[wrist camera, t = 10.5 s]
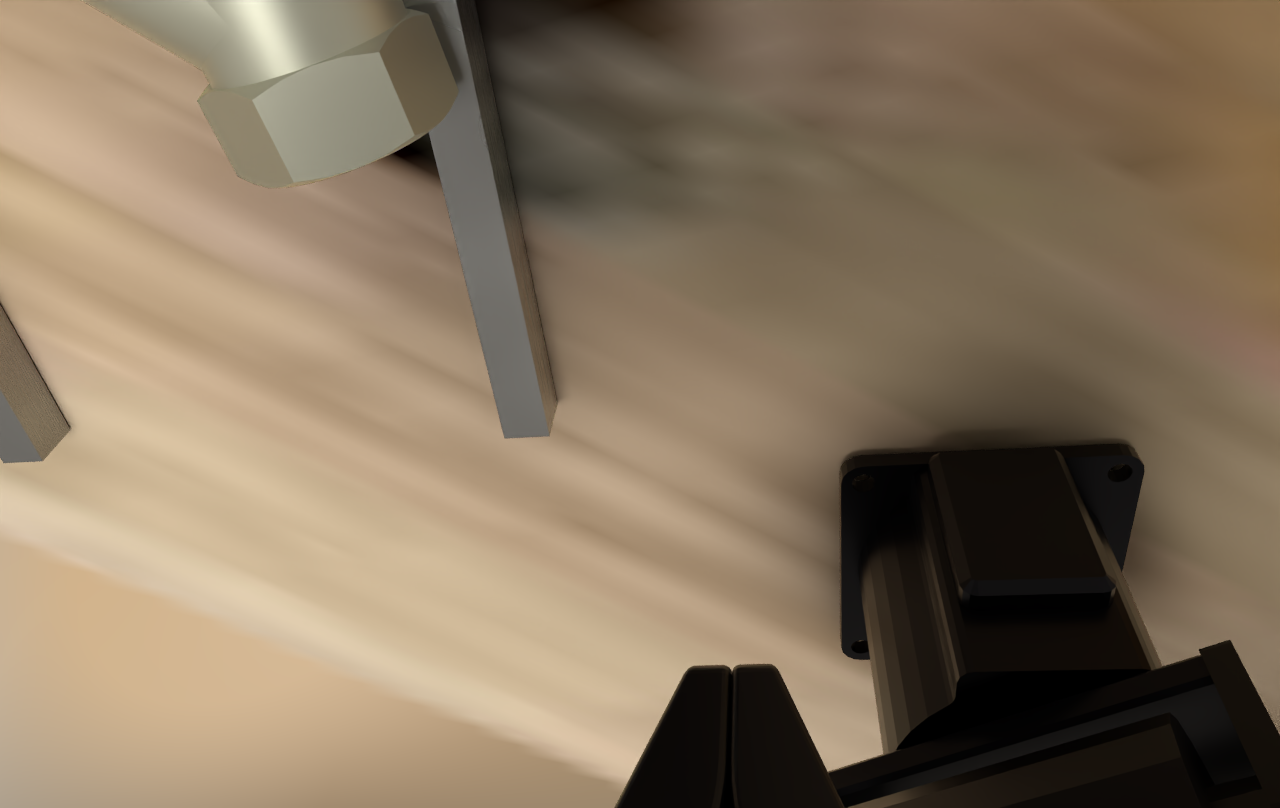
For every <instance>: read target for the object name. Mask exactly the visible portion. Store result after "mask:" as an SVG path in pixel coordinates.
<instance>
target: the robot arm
mask: <svg viewBox="0 0 1280 808" xmlns="http://www.w3.org/2000/svg"><path fill="white" fill-rule="evenodd" d="M1119 464H1125V465H1124V466H1123V467H1121V468H1120V469H1117V470H1113V471H1112V470H1110V469H1111V468H1112V467H1114V466H1115V465H1119ZM861 475H868V476H871V477H870V478H869V479H867V480H864V481H858V480H855V478H856V477H857V476H861ZM1143 476H1144V465H1143V463H1142V461H1141V459H1140V457H1139V455H1138V453H1137V452H1136V450H1135V449H1134V448H1132V447H1130V446H1128V445H1125V444H1102V445H1080V446H1057V447H1035V448H1013V449H991V450H968V451H946V452H924V453H901V454H879V455H861V456H856V457H852V458H850V459H849V460H847V461H846V462H845V463H844V464H843V465H842V466H841V469H840V473H839V483H840V638H841V647H842V651H843V653H844V654H845V655H846V656H848V657H850V658H853V659H859V660H870V662H871V669H872V676H873V683H874V690H875V697H876V704H877V712H878V719H879V726H880V733H881V740H882V747H883V755H880V756H877V757H873V758H870V759H867V760H864V761H861V762H857V763H854V764H851V765H848V766H845V767H842V768H838V769H835V770H832V771H829V772H827V770H826V768H825V766H824V764H823V761H822V759H821V757H820V755H819V753H818V751H817V749H816V747H815V745H814V743H813V741H812V739H811V737H810V735H809V733H808V730H807V728H806V726H805V724H804V722H803V720H802V718H801V716H800V714H799V712H798V710H797V708H796V706H795V704H794V701H793V699H792V697H791V695H790V693H789V691H788V689H787V687H786V685H785V683H784V681H783V679H782V677H781V675H780V673H779V671H778V669H777V668H776V667H775V666H774V665H772V664H744V665H737V666H736V667H734V669H733V671H731V669H730V668H729V667H728V666H725V665H705V666H692V667H690V668H689V669H688V670H687V671H686V672H685V673H684V675H683V677H682V679H681V681H680V683H679V685H678V686H677V688H676V690H675V692H674V694H673V696H672V698H671V700H670V702H669V704H668V706H667V708H666V710H665V711H664V713H663V715H662V717H661V719H660V721H659V723H658V725H657V727H656V729H655V731H654V733H653V735H652V736H651V738H650V740H649V742H648V744H647V746H646V748H645V750H644V752H643V754H642V756H641V758H640V759H639V761H638V763H637V765H636V767H635V769H634V771H633V773H632V775H631V777H630V779H629V781H628V783H627V784H626V786H625V788H624V790H623V792H622V794H621V796H620V798H619V800H618V802H617V804H616V806H615V808H1280V735H1279V733H1278V731H1277V729H1276V727H1275V725H1274V723H1273V721H1272V720H1271V718H1270V716H1269V714H1268V712H1267V710H1266V708H1265V706H1264V704H1263V702H1262V700H1261V698H1260V696H1259V695H1258V693H1257V691H1256V689H1255V687H1254V685H1253V683H1252V681H1251V679H1250V677H1249V675H1248V673H1247V671H1246V670H1245V668H1244V666H1243V664H1242V662H1241V660H1240V658H1239V656H1238V654H1237V652H1236V650H1235V648H1234V646H1233V645H1232V643H1231V641H1230V640H1227V641H1224V642H1221V643H1218V644H1215V645H1212V646H1208V647H1205V648H1202V649H1199V651H1200V654H1201V655H1198V656H1195V657H1192V658H1189V659H1186V660H1182V661H1179V662H1176V663H1173V664H1170V665H1166V666H1162V664H1161V662H1160V659H1159V657H1158V655H1157V652H1156V650H1155V648H1154V645H1153V643H1152V641H1151V639H1150V636H1149V634H1148V632H1147V629H1146V627H1145V625H1144V622H1143V620H1142V618H1141V616H1140V613H1139V611H1138V609H1137V606H1136V604H1135V602H1134V599H1133V597H1132V595H1131V593H1130V590H1129V588H1128V586H1127V583H1126V581H1125V579H1124V576H1123V574H1122V570H1123V565H1124V561H1125V556H1126V552H1127V547H1128V543H1129V538H1130V534H1131V529H1132V525H1133V520H1134V516H1135V511H1136V507H1137V502H1138V498H1139V493H1140V489H1141V485H1142V480H1143ZM859 640H864V641H860V642H859Z"/></svg>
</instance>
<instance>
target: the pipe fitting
mask: <svg viewBox="0 0 1280 808" xmlns="http://www.w3.org/2000/svg"><path fill="white" fill-rule="evenodd" d="M81 1H83V2H84V3H86V4H88V5H90V6H91V7H93V8H95V9H97V10H98V11H100V12H102V13H103V14H105V15H107V16H109V17H110V18H112V19H114V20H115V21H117V22H119V23H121V24H122V25H124V26H126V27H128V28H129V29H131V30H133V31H134V32H136V33H138V34H140V35H141V36H143V37H145V38H146V39H148V40H150V41H152V42H153V43H155V44H157V45H159V46H160V47H162V48H164V49H165V50H167V51H169V52H171V53H172V54H174V55H176V56H178V57H179V58H181V59H183V60H184V61H186V62H188V63H190V64H191V65H193V66H195V67H196V68H198V69H200V70H202V71H203V72H204V74H205V76H206V78H207V80H208V82H209V85H208V86H207V87H206V89H205V90H204V92H203V93H202V94H201V96H200V97H199V99H198V100H197V102H198V103H199V105H200V107H201V109H202V111H203V113H204V115H205V116H206V118H207V120H208V122H209V124H210V126H211V127H212V129H213V131H214V133H215V135H216V137H217V139H218V140H219V142H220V144H221V146H222V148H223V150H224V152H225V153H226V155H227V157H228V159H229V161H230V163H231V165H232V166H233V168H234V170H235V172H236V174H237V176H238V177H240V178H242V179H244V180H246V181H248V182H251V183H253V184H256V185H259V186H263V187H267V188H288V187H295V186H300V185H305V184H310V183H314V182H318V181H321V180H325V179H328V178H332V177H335V176H338V175H341V174H344V173H347V172H349V171H352V170H355V169H357V168H360V167H362V166H365V165H367V164H370V163H372V162H374V161H377V160H379V159H381V158H383V157H386V156H388V155H390V154H392V153H394V152H396V151H398V150H400V149H402V148H403V147H405V146H407V145H409V144H411V143H412V142H414V141H416V140H417V139H419V138H421V137H422V136H423V135H425V134H426V133H428V132H429V131H431V130H432V129H433V128H434V127H436V126H437V125H438V124H439V123H440V122H441V121H442V120H443V119H444V118H445V117H446V115H447V114H448V112H449V111H450V109H451V107H452V105H453V103H454V101H455V99H456V97H457V95H458V92H459V90H458V88H457V85H456V83H455V80H454V77H453V75H452V72H451V70H450V67H449V65H448V62H447V60H446V57H445V55H444V52H443V49H442V47H441V44H440V42H439V39H438V37H437V34H436V32H435V29H434V26H433V24H432V21H431V19H430V16H429V14H427V13H424V12H420V11H417V10H412V9H406V8H405V6H404V3H403V1H402V0H81Z"/></svg>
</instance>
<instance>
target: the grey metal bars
mask: <svg viewBox="0 0 1280 808" xmlns="http://www.w3.org/2000/svg"><path fill="white" fill-rule="evenodd" d="M402 1H403V3H404V6H405V8H406V9H412V10H417V11H420V12H424V13H427V14H429V16H430V19H431V21H432V24H433V26H434V29H435V32H436V34H437V37H438V39H439V42H440V44H441V47H442V49H443V52H444V55H445V57H446V60H447V62H448V65H449V67H450V70H451V72H452V75H453V77H454V80H455V83H456V85H457V88H458V90H459V92H458V95H457V97H456V99H455V101H454V103H453V105H452V107H451V109H450V111H449V112H448V114H447V115H446V117H445V118H444V119H443V120H442V121H441V122H440V123H439V124H438V125H437V126H436V127H434V128H433V129H432V130H431V131H429V136H430V140H431V144H432V148H433V152H434V156H435V160H436V164H437V168H438V172H439V176H440V180H441V184H442V188H443V192H444V196H445V200H446V204H447V208H448V212H449V216H450V220H451V224H452V229H453V233H454V237H455V241H456V245H457V249H458V253H459V257H460V261H461V265H462V269H463V273H464V277H465V281H466V285H467V289H468V293H469V297H470V301H471V305H472V309H473V313H474V317H475V321H476V325H477V329H478V333H479V337H480V341H481V345H482V349H483V353H484V357H485V361H486V366H487V370H488V374H489V378H490V382H491V386H492V390H493V394H494V398H495V402H496V406H497V410H498V414H499V418H500V422H501V426H502V430H503V434H504V438H523V437H543V436H550V432H551V428H552V424H553V420H554V416H555V412H556V407H557V399H556V394H555V390H554V385H553V380H552V375H551V370H550V365H549V360H548V355H547V350H546V346H545V341H544V336H543V331H542V326H541V321H540V316H539V311H538V306H537V302H536V297H535V292H534V287H533V282H532V277H531V272H530V267H529V262H528V258H527V253H526V248H525V243H524V238H523V233H522V228H521V223H520V218H519V214H518V209H517V204H516V199H515V194H514V189H513V184H512V179H511V174H510V170H509V165H508V160H507V155H506V150H505V145H504V140H503V135H502V130H501V126H500V121H499V116H498V111H497V106H496V101H495V96H494V91H493V86H492V81H491V77H490V72H489V67H488V62H487V57H486V52H485V47H484V42H483V37H482V33H481V28H480V23H479V18H478V13H477V8H476V3H475V0H402ZM69 431H70V428H69V426H68V425H67V423H66V421H65V419H64V417H63V416H62V414H61V412H60V410H59V409H58V407H57V405H56V403H55V401H54V400H53V398H52V396H51V394H50V392H49V391H48V389H47V387H46V385H45V384H44V382H43V380H42V378H41V376H40V375H39V373H38V371H37V369H36V368H35V366H34V364H33V362H32V360H31V359H30V357H29V355H28V353H27V351H26V350H25V348H24V346H23V344H22V343H21V341H20V339H19V337H18V335H17V334H16V332H15V330H14V328H13V327H12V325H11V323H10V321H9V319H8V318H7V316H6V314H5V312H4V310H3V309H2V307H1V305H0V458H1V460H2V461H3V463H15V462H35V461H43V460H44V459H45V458H46V457H47V456H48V455H49V453H50V452H51V451H52V450H53V449H54V448H55V447H56V446H57V444H58V443H59V442H60V441H61V440H62V439H63V438H64V436H65V435H66V434H67V433H68V432H69Z"/></svg>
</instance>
